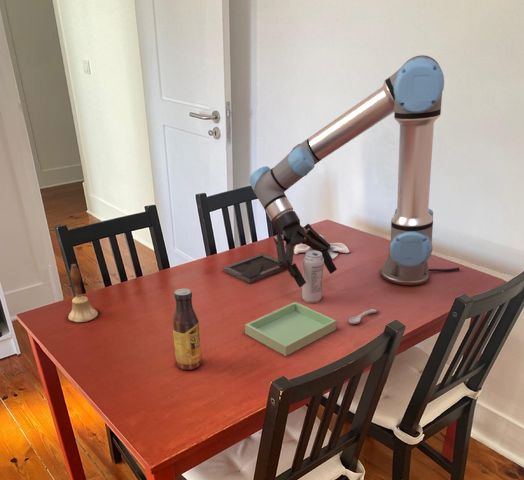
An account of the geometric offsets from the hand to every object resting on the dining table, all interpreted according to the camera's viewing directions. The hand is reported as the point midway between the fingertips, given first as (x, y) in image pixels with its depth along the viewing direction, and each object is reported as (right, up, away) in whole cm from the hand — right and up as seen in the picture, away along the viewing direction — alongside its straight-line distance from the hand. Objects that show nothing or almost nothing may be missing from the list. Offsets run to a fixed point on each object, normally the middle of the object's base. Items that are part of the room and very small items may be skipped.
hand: (318, 278), depth 156 cm
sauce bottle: (-35, -25, -24) cm, 49 cm away
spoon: (+12, -12, -5) cm, 18 cm away
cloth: (+4, +16, +40) cm, 44 cm away
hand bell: (-69, -11, -2) cm, 70 cm away
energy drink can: (-2, -6, +6) cm, 8 cm away
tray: (-9, -16, -11) cm, 21 cm away
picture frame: (-19, +6, +25) cm, 32 cm away
